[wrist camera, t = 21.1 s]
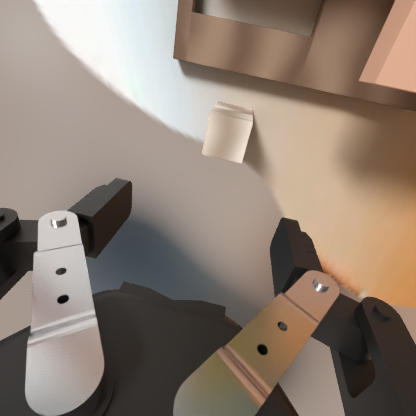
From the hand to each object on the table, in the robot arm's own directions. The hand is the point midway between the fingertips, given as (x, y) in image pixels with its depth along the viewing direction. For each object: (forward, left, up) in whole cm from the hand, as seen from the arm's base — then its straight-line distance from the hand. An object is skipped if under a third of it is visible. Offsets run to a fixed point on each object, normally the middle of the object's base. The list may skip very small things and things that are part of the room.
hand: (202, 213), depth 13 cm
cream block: (0, 0, -23) cm, 23 cm away
